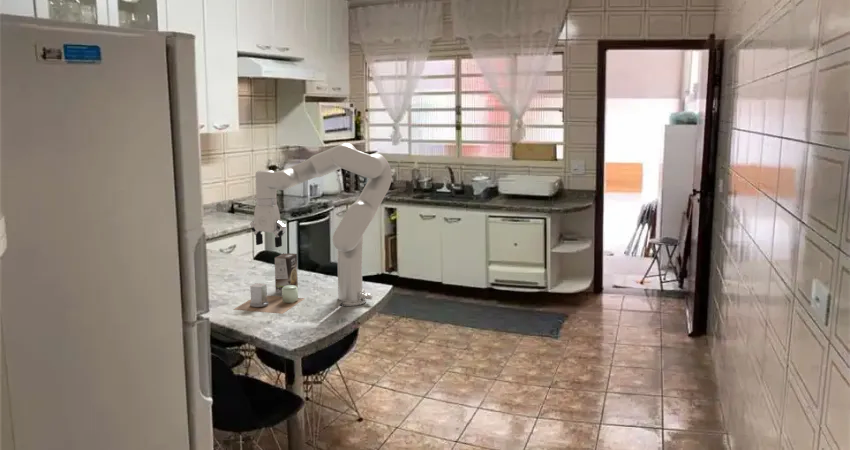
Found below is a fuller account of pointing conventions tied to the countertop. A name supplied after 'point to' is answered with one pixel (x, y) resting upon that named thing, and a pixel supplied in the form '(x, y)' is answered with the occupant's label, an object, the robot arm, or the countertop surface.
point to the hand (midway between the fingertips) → (269, 245)
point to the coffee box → (285, 271)
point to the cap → (290, 294)
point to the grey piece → (258, 295)
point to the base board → (270, 305)
